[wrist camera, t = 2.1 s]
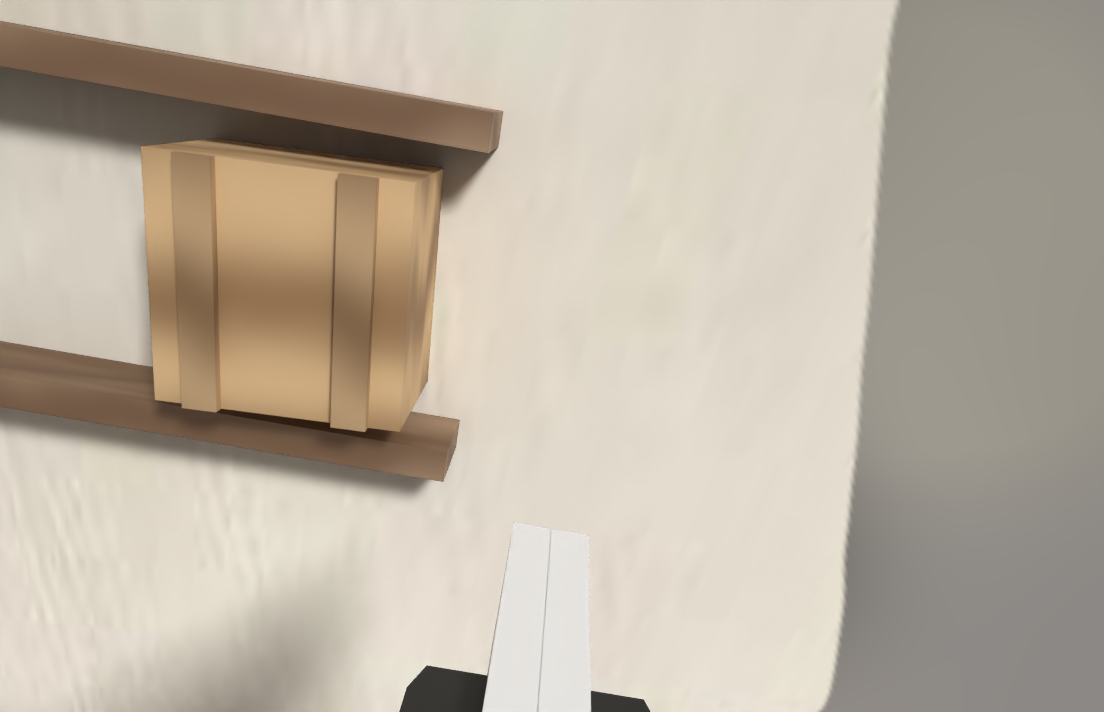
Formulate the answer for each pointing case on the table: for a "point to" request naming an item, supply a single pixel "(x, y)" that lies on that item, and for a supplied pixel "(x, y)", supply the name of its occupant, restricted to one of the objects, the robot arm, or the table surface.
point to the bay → (129, 388)
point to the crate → (290, 280)
